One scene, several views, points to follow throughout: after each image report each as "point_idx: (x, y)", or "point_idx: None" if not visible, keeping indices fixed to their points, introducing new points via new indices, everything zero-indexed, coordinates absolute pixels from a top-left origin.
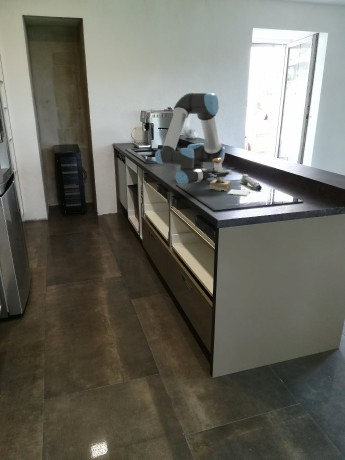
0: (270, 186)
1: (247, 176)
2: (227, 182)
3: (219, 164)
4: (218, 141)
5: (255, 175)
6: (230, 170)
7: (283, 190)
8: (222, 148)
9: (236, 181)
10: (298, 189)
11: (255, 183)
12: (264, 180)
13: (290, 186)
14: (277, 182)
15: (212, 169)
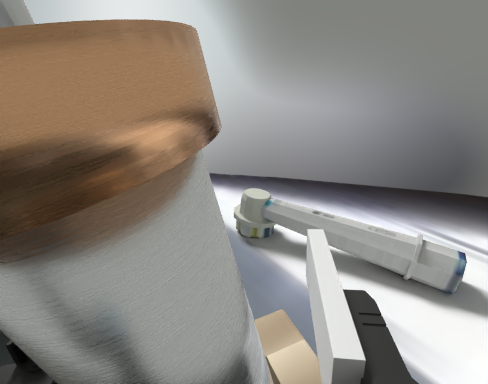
0: (361, 211)
1: (274, 199)
2: (311, 381)
3: (204, 253)
4: (23, 1)
5: (211, 173)
6: (327, 242)
7: (457, 221)
8: None
9: None
10: (442, 194)
11: (421, 247)
12: (270, 185)
13: (384, 187)
14: (314, 182)
15: (16, 367)
